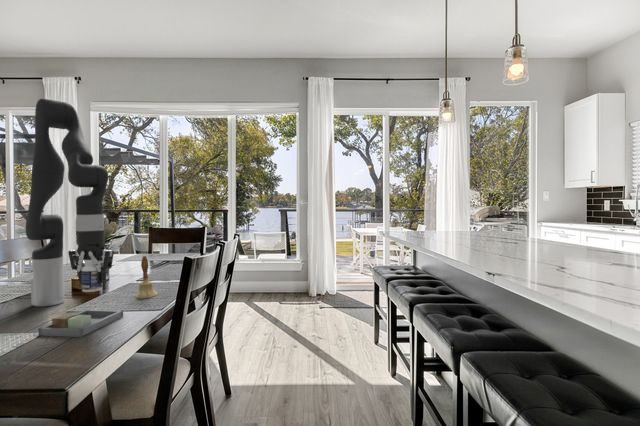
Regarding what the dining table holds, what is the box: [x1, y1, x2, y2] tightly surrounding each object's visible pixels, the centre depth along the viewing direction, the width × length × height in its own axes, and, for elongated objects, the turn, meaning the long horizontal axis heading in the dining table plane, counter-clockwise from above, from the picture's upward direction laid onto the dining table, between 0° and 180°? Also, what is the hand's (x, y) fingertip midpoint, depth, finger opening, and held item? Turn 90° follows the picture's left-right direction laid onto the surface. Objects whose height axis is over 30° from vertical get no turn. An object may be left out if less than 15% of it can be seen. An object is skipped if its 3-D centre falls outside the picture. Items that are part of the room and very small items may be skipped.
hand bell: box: [134, 255, 158, 299], centre depth 149 cm, size 8×8×16 cm
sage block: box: [68, 315, 91, 329], centre depth 108 cm, size 4×4×4 cm
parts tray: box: [37, 309, 124, 338], centre depth 112 cm, size 13×18×2 cm
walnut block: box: [51, 313, 76, 328], centre depth 108 cm, size 4×4×4 cm
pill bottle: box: [81, 260, 103, 293], centre depth 116 cm, size 5×5×10 cm
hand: (92, 283), depth 116 cm, fingers closed on pill bottle, 5 cm apart
